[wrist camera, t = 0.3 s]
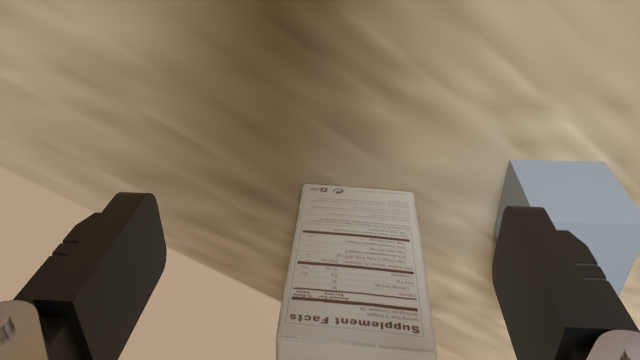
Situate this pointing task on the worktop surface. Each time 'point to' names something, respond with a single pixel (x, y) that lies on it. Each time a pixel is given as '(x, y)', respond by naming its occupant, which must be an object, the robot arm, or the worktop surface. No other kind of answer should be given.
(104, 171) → the worktop surface
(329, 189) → the supplement box
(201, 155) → the worktop surface
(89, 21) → the worktop surface
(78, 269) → the robot arm
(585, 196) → the blue block
